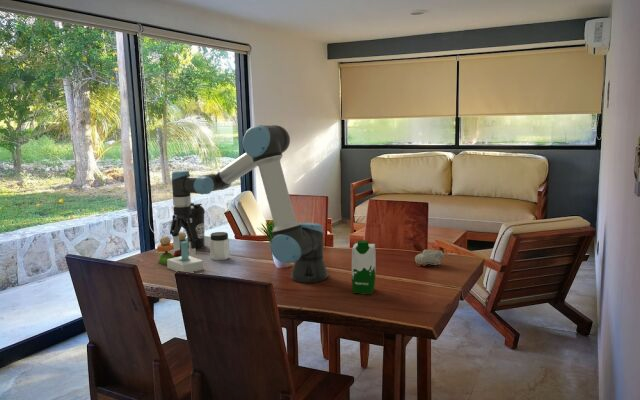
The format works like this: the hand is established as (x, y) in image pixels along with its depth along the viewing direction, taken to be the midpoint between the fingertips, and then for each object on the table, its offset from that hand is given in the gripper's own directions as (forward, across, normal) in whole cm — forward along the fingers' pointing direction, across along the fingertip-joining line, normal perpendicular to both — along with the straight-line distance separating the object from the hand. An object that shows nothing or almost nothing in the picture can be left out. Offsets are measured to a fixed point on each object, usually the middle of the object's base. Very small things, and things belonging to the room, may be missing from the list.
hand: (184, 252), depth 230 cm
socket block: (+7, 0, 0) cm, 7 cm away
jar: (+7, +4, -21) cm, 23 cm away
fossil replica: (+8, -76, -78) cm, 109 cm away
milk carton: (+7, -78, -31) cm, 84 cm away
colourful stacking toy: (+8, +16, -7) cm, 19 cm away
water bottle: (+7, +32, -25) cm, 41 cm away
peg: (+7, 0, 0) cm, 7 cm away
